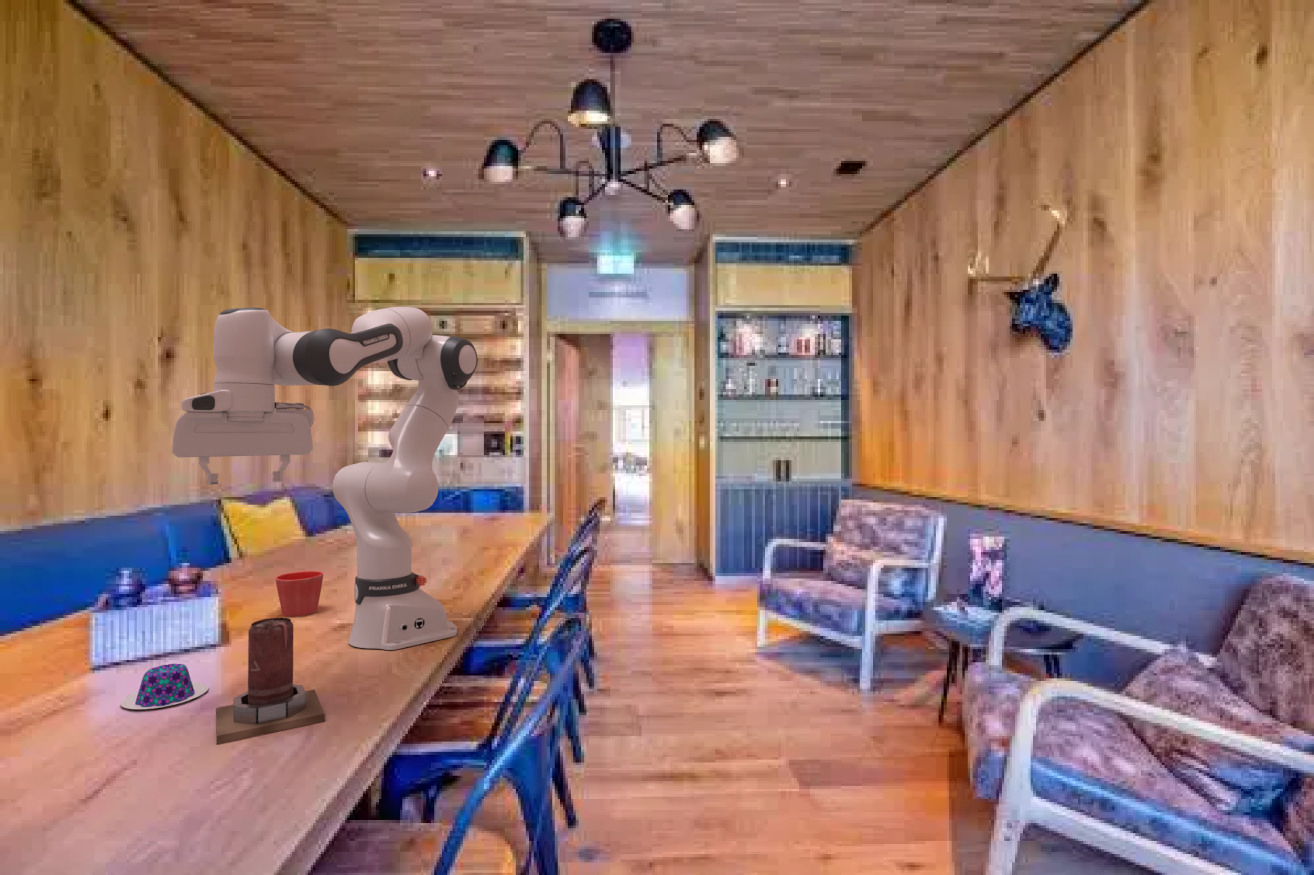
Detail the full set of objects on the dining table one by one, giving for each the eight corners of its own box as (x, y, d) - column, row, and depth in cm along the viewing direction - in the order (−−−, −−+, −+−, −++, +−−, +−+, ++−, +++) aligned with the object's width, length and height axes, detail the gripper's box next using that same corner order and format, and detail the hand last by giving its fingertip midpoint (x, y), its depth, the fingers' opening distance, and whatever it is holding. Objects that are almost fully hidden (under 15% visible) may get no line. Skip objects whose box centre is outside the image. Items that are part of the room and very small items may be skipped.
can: (273, 720, 100) (274, 628, 100) (238, 716, 101) (239, 625, 101) (303, 704, 106) (303, 617, 106) (269, 701, 107) (269, 615, 107)
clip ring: (300, 694, 110) (300, 680, 110) (307, 714, 102) (307, 698, 102) (232, 707, 104) (232, 692, 104) (234, 729, 96) (234, 712, 96)
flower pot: (264, 618, 161) (264, 578, 161) (296, 606, 172) (296, 570, 172) (303, 620, 160) (303, 580, 160) (332, 608, 170) (332, 571, 170)
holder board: (314, 696, 112) (314, 689, 112) (324, 721, 102) (324, 713, 102) (215, 715, 104) (215, 707, 104) (216, 744, 94) (216, 736, 94)
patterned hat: (114, 719, 103) (114, 686, 103) (126, 694, 113) (126, 664, 113) (206, 703, 110) (207, 672, 110) (209, 681, 120) (210, 652, 120)
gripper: (310, 403, 120) (311, 478, 120) (172, 401, 108) (173, 484, 109) (316, 402, 115) (316, 481, 115) (171, 399, 103) (172, 487, 103)
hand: (246, 482), depth 112 cm, fingers open, 8 cm apart
